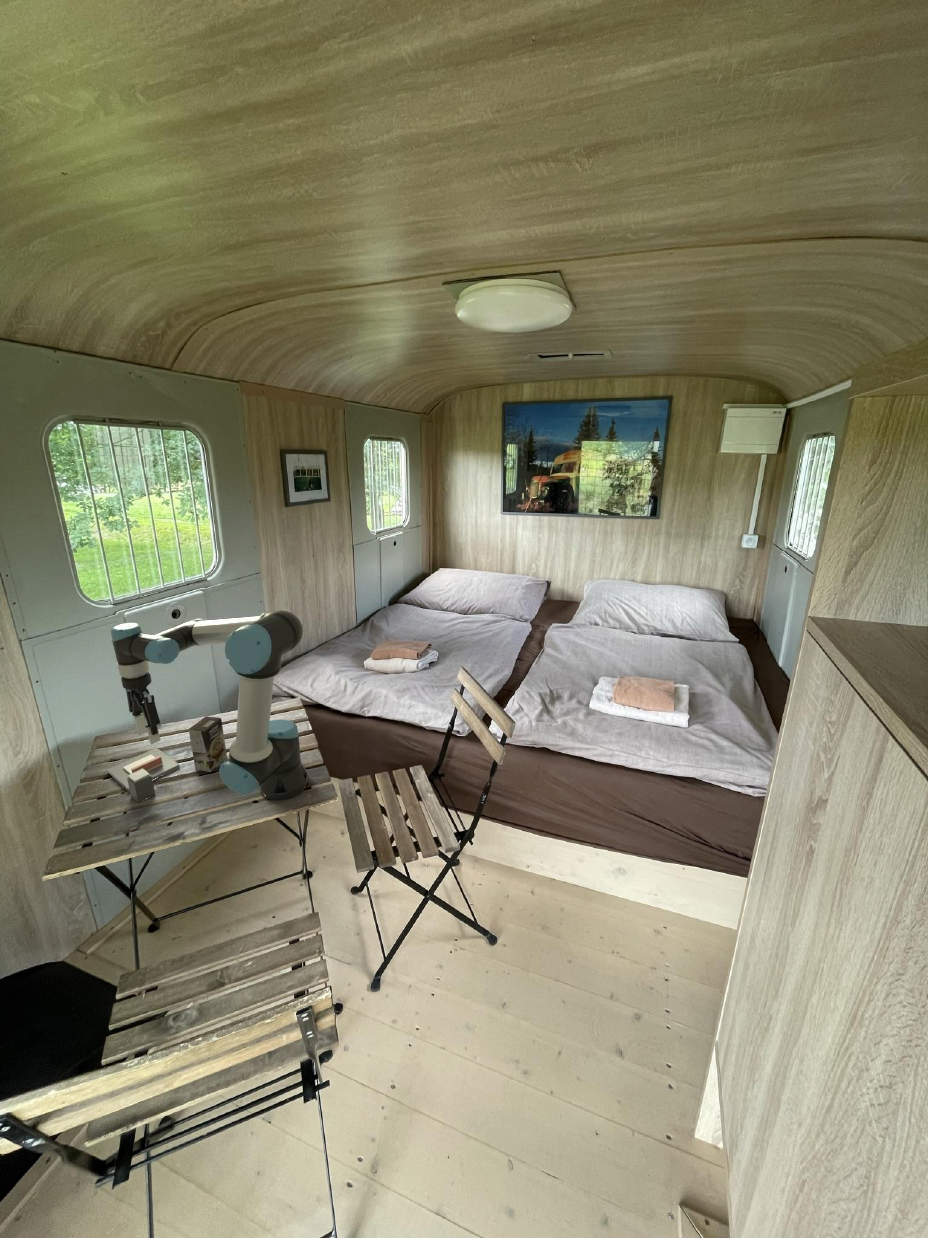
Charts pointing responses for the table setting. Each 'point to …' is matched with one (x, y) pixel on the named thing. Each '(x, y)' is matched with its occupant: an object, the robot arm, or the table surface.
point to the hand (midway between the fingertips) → (149, 737)
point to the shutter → (144, 764)
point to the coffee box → (207, 743)
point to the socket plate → (167, 767)
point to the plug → (140, 785)
